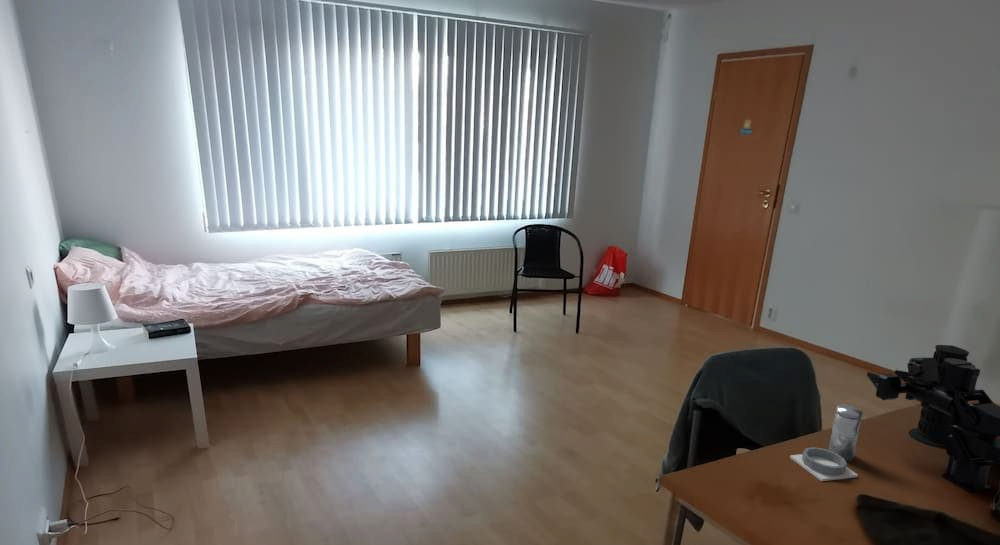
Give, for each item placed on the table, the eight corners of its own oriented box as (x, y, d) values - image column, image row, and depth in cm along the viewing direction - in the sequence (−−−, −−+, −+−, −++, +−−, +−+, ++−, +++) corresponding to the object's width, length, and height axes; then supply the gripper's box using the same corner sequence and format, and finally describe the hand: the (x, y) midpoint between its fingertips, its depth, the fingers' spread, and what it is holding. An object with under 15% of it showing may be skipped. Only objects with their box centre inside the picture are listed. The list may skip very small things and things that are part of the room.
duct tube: (859, 460, 135) (868, 413, 132) (840, 462, 134) (849, 415, 131) (841, 448, 140) (849, 403, 138) (822, 450, 139) (831, 404, 136)
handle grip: (920, 445, 143) (964, 451, 141) (942, 350, 137) (987, 354, 135) (901, 427, 153) (941, 432, 151) (920, 337, 147) (963, 341, 145)
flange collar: (857, 477, 128) (859, 467, 127) (821, 481, 125) (823, 471, 125) (824, 454, 137) (825, 444, 137) (789, 457, 135) (791, 448, 134)
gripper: (976, 364, 133) (915, 342, 148) (914, 368, 129) (858, 345, 144) (966, 406, 136) (907, 381, 150) (905, 412, 131) (851, 385, 146)
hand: (881, 372), depth 148 cm, fingers open, 9 cm apart
